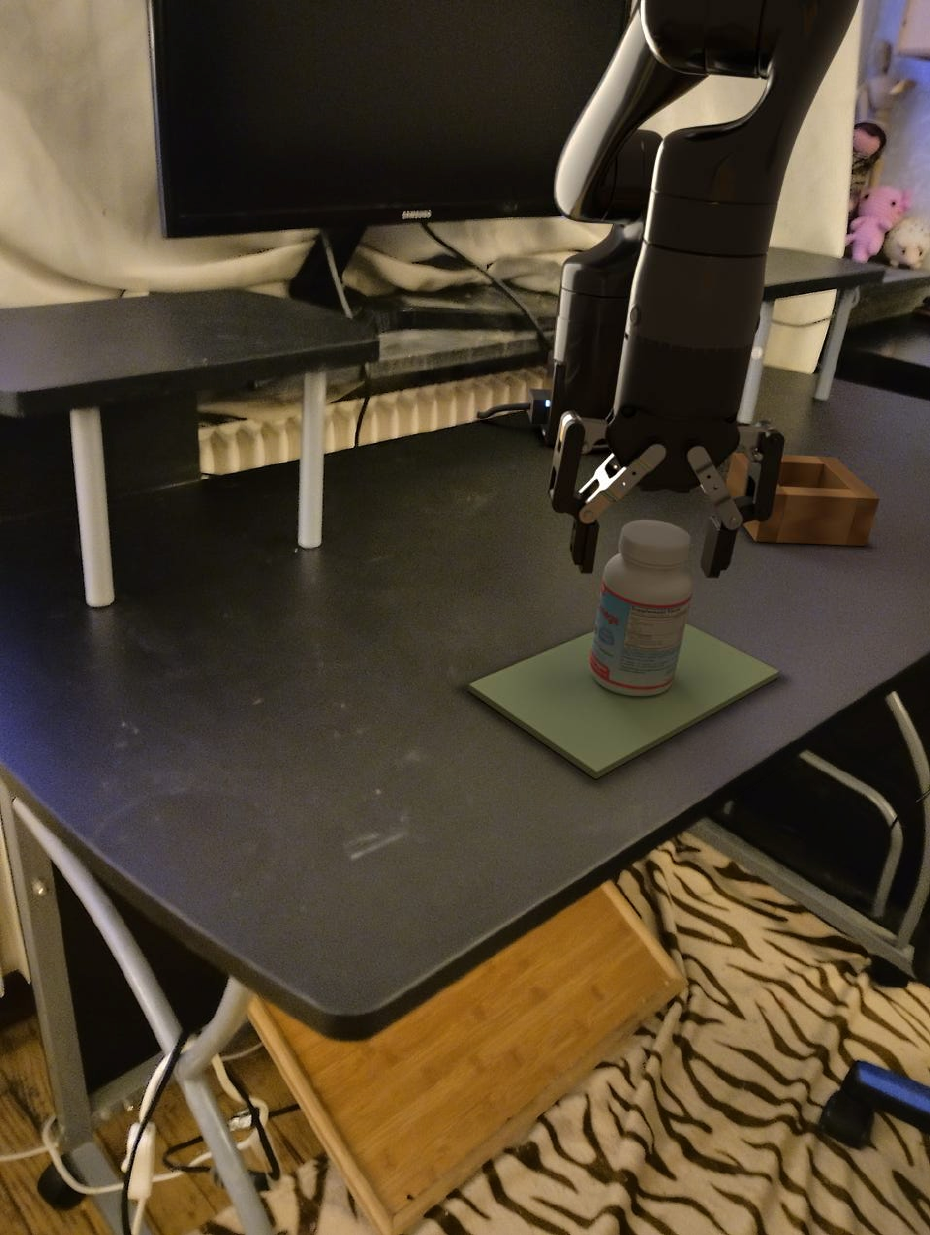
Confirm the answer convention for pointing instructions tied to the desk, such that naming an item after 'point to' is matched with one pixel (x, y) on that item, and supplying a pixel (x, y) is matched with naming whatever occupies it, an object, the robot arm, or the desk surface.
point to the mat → (617, 699)
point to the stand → (811, 502)
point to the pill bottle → (642, 610)
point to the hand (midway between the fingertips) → (646, 571)
